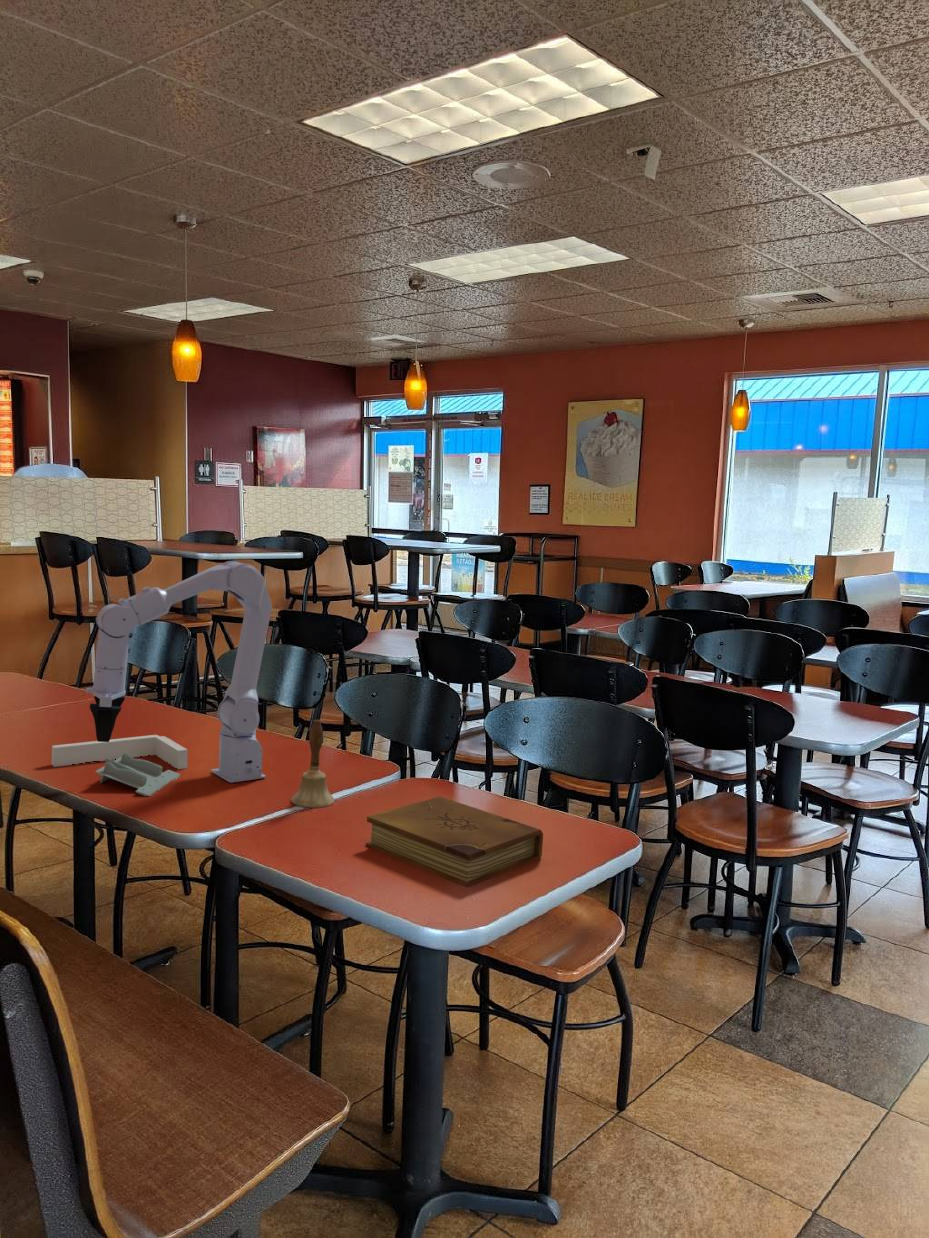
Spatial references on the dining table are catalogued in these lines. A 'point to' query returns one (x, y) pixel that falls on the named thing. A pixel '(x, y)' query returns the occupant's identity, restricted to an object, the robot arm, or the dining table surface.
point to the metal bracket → (137, 774)
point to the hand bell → (314, 776)
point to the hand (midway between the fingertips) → (104, 736)
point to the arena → (120, 750)
